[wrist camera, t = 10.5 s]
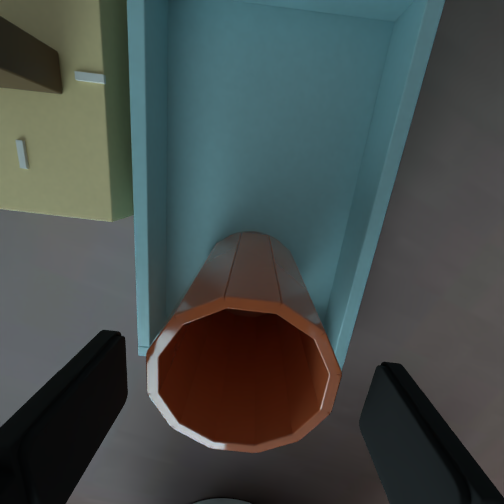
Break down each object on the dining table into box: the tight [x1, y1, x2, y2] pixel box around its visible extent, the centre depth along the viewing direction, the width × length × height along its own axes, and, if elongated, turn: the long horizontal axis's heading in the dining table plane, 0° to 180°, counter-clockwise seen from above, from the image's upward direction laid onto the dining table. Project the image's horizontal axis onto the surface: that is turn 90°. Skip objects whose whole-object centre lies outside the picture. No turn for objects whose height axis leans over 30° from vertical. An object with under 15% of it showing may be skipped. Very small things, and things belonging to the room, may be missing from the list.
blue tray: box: [127, 0, 445, 371], centre depth 15 cm, size 22×14×3 cm, turn 173°
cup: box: [146, 231, 342, 453], centre depth 13 cm, size 7×7×10 cm
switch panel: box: [0, 0, 134, 222], centre depth 13 cm, size 12×9×3 cm
